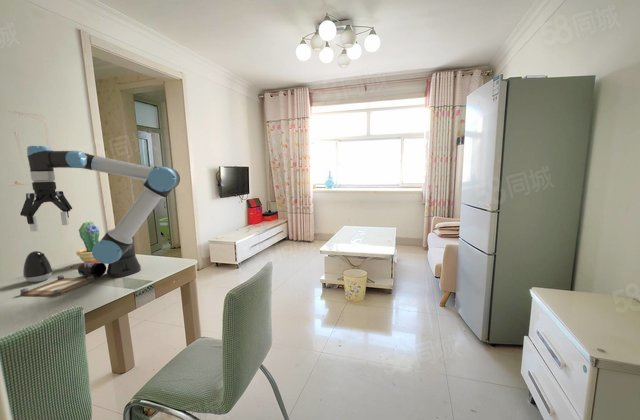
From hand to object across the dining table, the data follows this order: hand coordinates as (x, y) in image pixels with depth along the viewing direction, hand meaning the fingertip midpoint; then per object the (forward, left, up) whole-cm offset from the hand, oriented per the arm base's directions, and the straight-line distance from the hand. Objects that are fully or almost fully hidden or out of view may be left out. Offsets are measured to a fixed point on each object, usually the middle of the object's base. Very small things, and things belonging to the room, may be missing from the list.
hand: (50, 228), depth 126 cm
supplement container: (+3, -13, -26) cm, 29 cm away
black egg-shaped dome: (+20, -8, -29) cm, 36 cm away
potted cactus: (+17, -36, -29) cm, 49 cm away
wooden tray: (0, 0, -29) cm, 29 cm away
